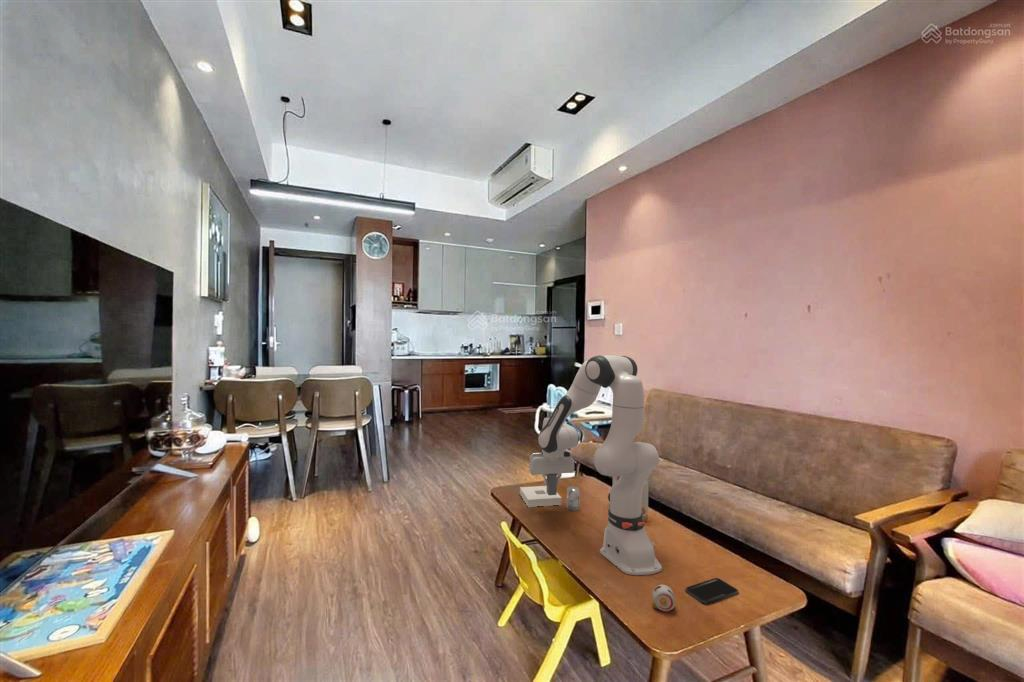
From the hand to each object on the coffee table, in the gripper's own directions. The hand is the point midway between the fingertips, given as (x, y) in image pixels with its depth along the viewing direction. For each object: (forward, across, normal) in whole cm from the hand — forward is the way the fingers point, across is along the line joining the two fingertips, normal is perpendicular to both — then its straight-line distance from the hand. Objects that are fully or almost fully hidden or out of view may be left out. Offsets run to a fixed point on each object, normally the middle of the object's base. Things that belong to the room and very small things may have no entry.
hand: (551, 483), depth 181 cm
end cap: (+13, +33, -1) cm, 35 cm away
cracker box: (+13, +31, -13) cm, 36 cm away
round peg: (+12, +11, +2) cm, 17 cm away
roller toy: (+15, +12, -68) cm, 71 cm away
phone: (+15, +31, -64) cm, 73 cm away
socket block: (+12, -1, +14) cm, 18 cm away
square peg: (+5, 0, 0) cm, 5 cm away
